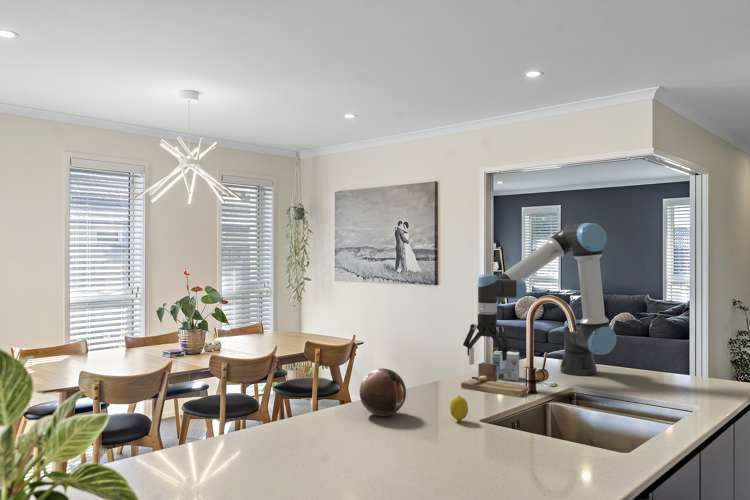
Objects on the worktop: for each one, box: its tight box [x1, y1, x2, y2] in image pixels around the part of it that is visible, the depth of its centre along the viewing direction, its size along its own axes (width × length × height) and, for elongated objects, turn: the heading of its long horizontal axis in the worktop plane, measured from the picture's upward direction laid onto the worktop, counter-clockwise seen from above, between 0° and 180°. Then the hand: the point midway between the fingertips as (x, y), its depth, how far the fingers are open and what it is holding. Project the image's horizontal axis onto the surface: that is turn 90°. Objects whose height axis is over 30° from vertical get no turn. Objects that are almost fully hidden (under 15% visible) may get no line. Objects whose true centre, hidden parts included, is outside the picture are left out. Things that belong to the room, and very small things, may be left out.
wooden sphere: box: [359, 368, 407, 417], centre depth 190 cm, size 15×15×15 cm
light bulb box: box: [492, 350, 520, 381], centre depth 246 cm, size 11×7×11 cm, turn 73°
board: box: [460, 378, 528, 398], centre depth 225 cm, size 10×24×2 cm, turn 52°
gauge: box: [471, 362, 498, 384], centre depth 231 cm, size 14×6×8 cm, turn 142°
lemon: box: [449, 395, 469, 422], centre depth 183 cm, size 6×6×8 cm
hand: (486, 366), depth 235 cm, fingers open, 13 cm apart
